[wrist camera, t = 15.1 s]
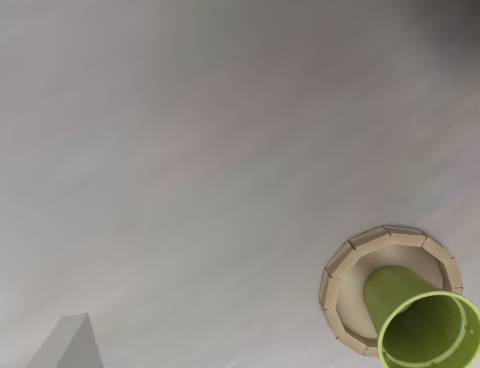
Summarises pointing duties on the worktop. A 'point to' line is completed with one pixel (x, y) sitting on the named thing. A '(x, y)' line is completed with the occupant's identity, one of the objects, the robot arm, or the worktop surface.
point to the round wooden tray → (369, 260)
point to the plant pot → (420, 321)
